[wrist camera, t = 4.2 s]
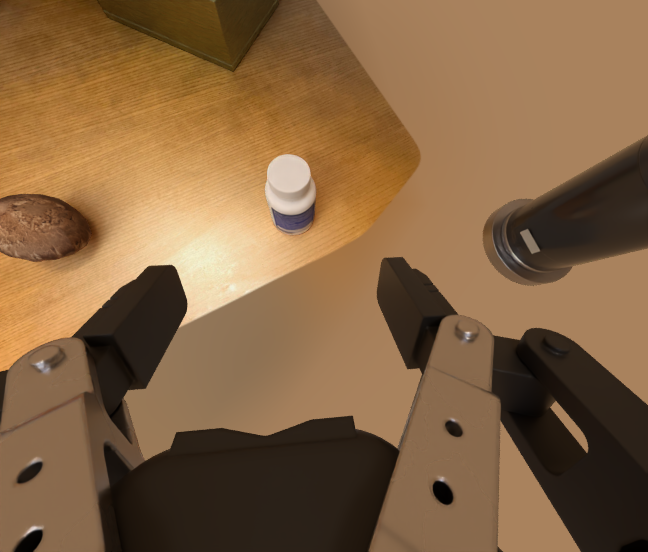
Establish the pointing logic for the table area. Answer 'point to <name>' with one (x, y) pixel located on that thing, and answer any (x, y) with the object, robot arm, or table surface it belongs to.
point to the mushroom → (40, 228)
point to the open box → (197, 24)
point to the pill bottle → (290, 194)
